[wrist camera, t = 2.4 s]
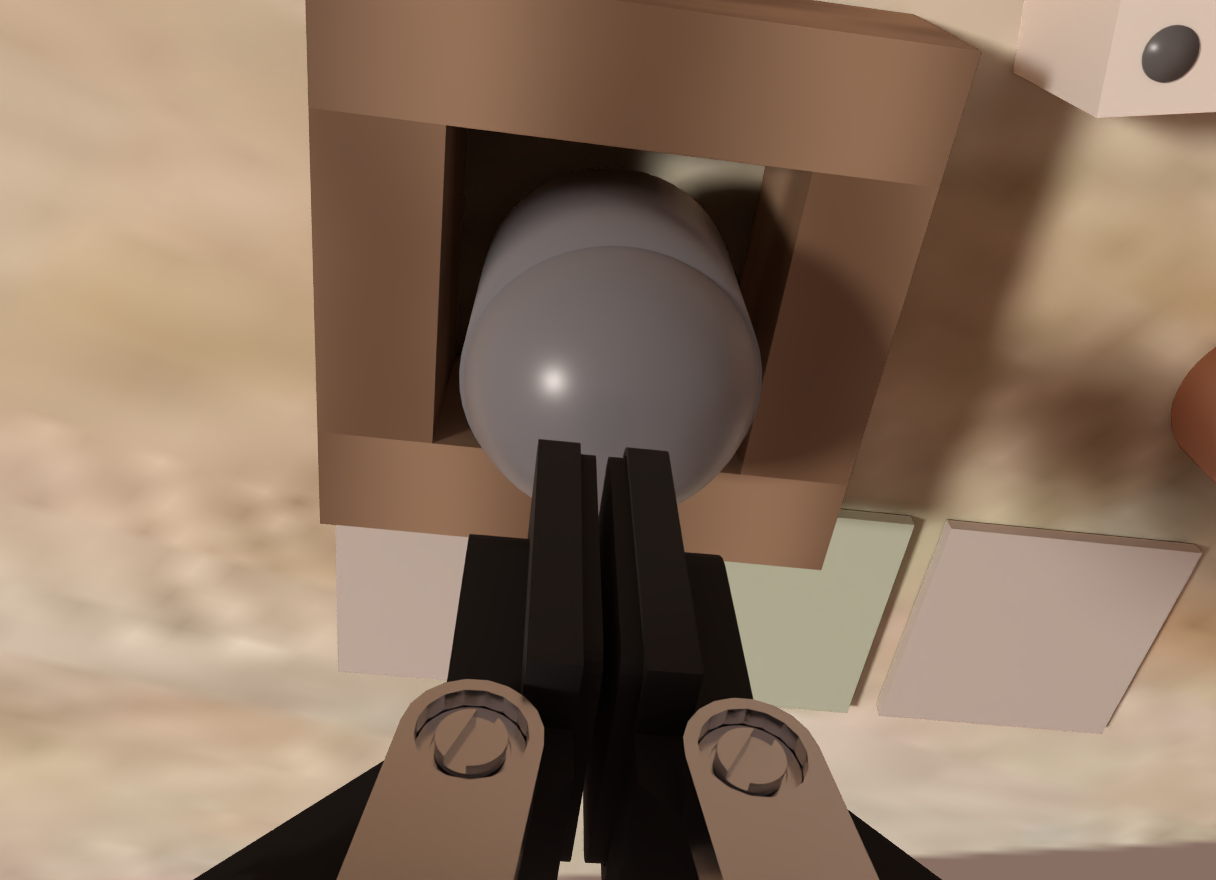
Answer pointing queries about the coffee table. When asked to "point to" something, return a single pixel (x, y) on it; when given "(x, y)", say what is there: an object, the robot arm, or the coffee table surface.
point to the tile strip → (852, 618)
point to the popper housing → (637, 119)
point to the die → (1121, 54)
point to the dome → (610, 331)
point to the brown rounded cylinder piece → (1198, 414)
